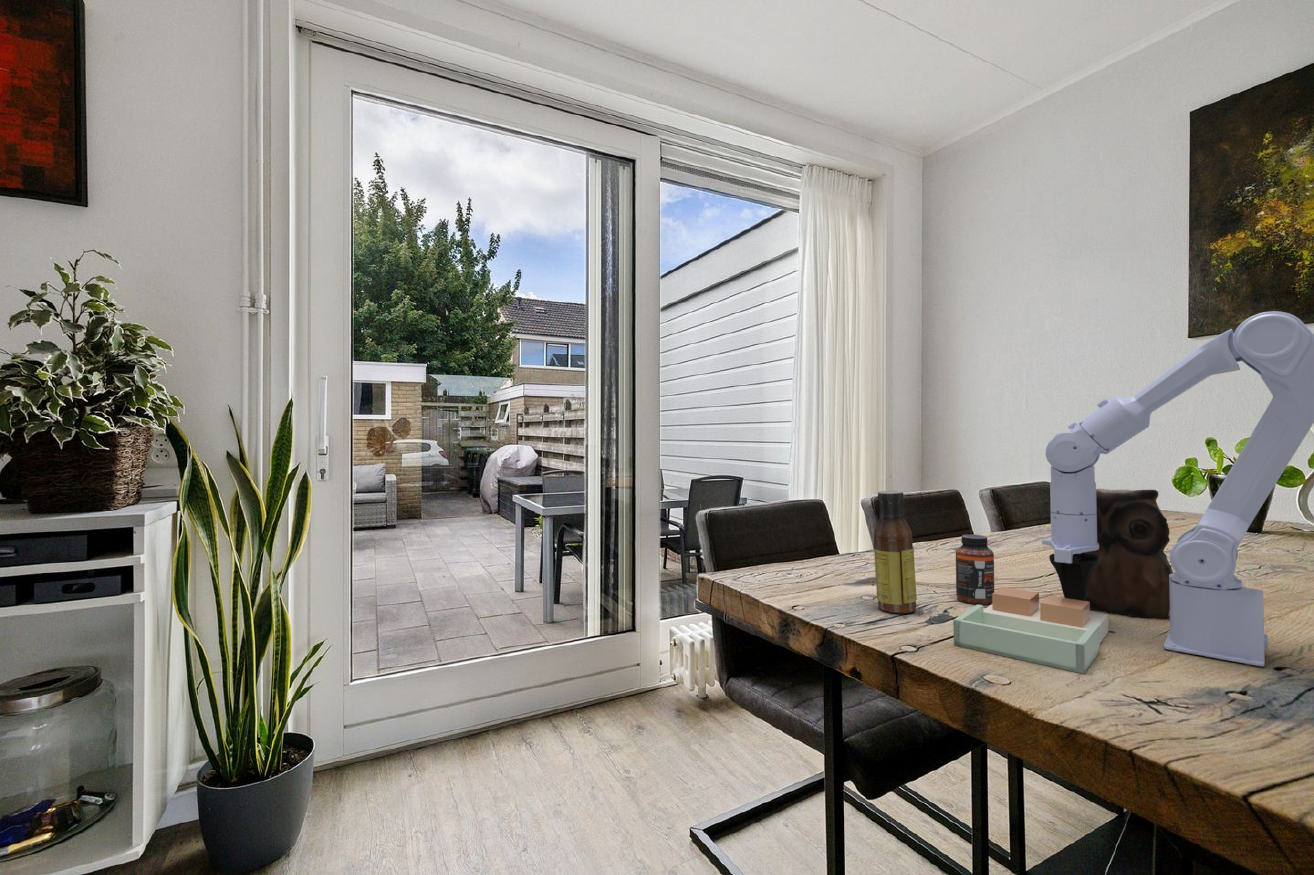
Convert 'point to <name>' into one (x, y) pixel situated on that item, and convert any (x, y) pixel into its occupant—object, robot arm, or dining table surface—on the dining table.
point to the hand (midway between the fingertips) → (1074, 603)
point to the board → (1044, 624)
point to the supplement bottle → (974, 570)
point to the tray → (1026, 643)
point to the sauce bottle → (894, 556)
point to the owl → (1130, 556)
